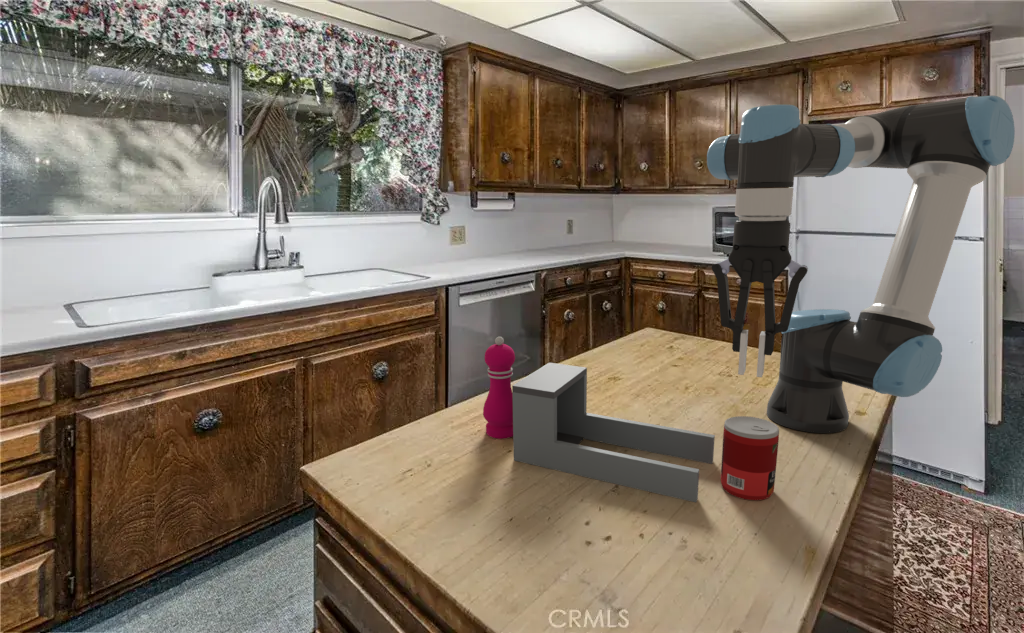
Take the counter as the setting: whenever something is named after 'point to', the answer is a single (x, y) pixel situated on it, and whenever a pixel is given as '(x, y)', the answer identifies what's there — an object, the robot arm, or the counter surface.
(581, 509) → the counter surface
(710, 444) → the trap channel
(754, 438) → the canned food
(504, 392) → the pepper mill
